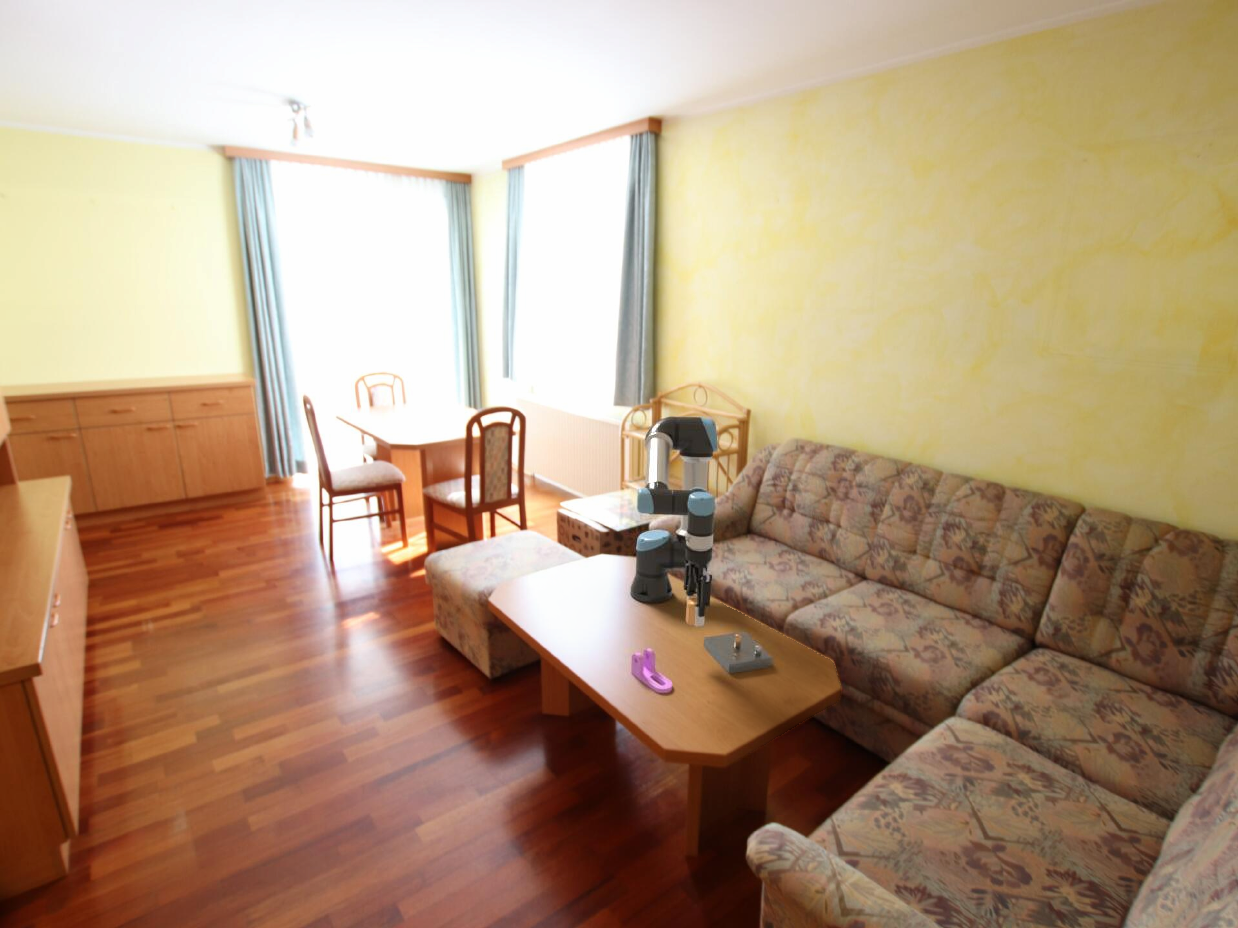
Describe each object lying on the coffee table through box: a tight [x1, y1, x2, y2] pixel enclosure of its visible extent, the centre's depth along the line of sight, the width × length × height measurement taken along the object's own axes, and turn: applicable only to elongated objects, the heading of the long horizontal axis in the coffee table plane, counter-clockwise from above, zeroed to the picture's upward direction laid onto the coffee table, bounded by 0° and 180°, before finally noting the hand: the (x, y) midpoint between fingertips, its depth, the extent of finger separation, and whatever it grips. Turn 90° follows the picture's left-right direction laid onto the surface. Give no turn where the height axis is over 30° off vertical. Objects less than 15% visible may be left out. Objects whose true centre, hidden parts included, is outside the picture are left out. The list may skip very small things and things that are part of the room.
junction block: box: [703, 630, 773, 675], centre depth 193 cm, size 16×14×7 cm
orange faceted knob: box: [685, 598, 697, 627], centre depth 190 cm, size 5×5×6 cm
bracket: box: [630, 647, 673, 694], centre depth 180 cm, size 13×6×7 cm, turn 36°
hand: (695, 620), depth 190 cm, fingers closed on orange faceted knob, 5 cm apart
